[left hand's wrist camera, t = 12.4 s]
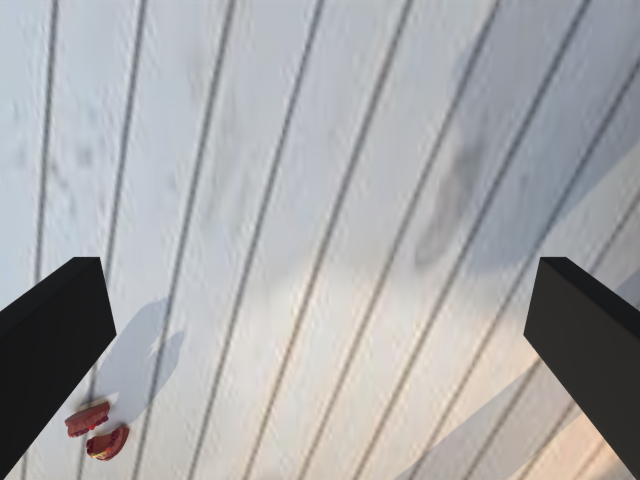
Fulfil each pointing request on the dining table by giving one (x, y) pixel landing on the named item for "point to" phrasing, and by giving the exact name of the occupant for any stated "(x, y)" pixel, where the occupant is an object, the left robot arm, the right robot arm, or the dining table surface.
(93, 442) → the dental model
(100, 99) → the dining table surface
